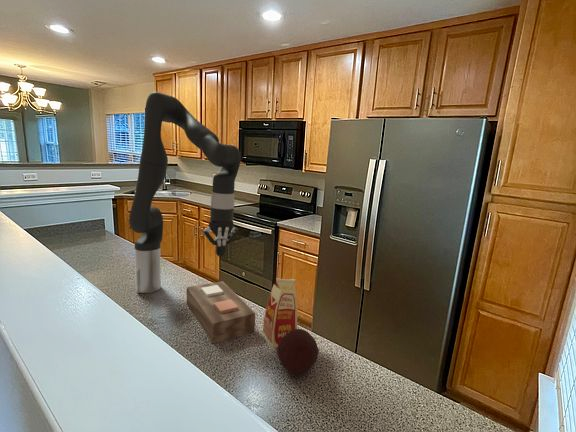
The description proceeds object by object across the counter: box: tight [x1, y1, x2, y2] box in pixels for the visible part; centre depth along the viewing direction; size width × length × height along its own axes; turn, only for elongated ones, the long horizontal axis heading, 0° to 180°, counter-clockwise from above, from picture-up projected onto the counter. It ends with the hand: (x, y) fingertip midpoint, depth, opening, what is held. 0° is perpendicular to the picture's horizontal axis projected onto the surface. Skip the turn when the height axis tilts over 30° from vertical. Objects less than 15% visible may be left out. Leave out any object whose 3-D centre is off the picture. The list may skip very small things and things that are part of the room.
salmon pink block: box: [214, 299, 238, 314], centre depth 102 cm, size 6×6×4 cm
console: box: [186, 280, 257, 344], centre depth 108 cm, size 14×28×6 cm, turn 33°
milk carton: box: [262, 277, 298, 349], centre depth 97 cm, size 9×9×20 cm
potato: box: [276, 328, 319, 378], centre depth 84 cm, size 11×13×10 cm
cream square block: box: [201, 285, 223, 297], centre depth 113 cm, size 6×6×4 cm
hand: (219, 255), depth 107 cm, fingers closed
